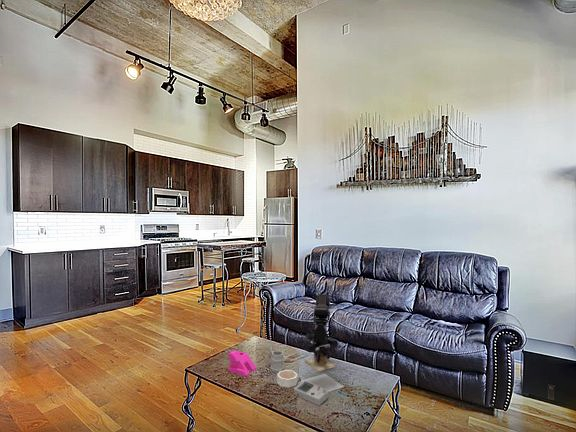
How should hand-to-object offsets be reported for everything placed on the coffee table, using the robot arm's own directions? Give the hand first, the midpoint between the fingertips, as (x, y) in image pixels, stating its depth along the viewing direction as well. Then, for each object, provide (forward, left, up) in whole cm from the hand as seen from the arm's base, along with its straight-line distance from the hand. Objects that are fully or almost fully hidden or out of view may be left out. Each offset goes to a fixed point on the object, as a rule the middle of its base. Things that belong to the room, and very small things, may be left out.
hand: (320, 361), depth 168 cm
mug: (+12, -27, -12) cm, 32 cm away
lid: (0, 0, -1) cm, 1 cm away
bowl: (+14, -10, -12) cm, 21 cm away
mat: (-1, 0, -12) cm, 12 cm away
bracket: (+29, -34, -12) cm, 46 cm away
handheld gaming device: (+11, +8, -12) cm, 18 cm away
